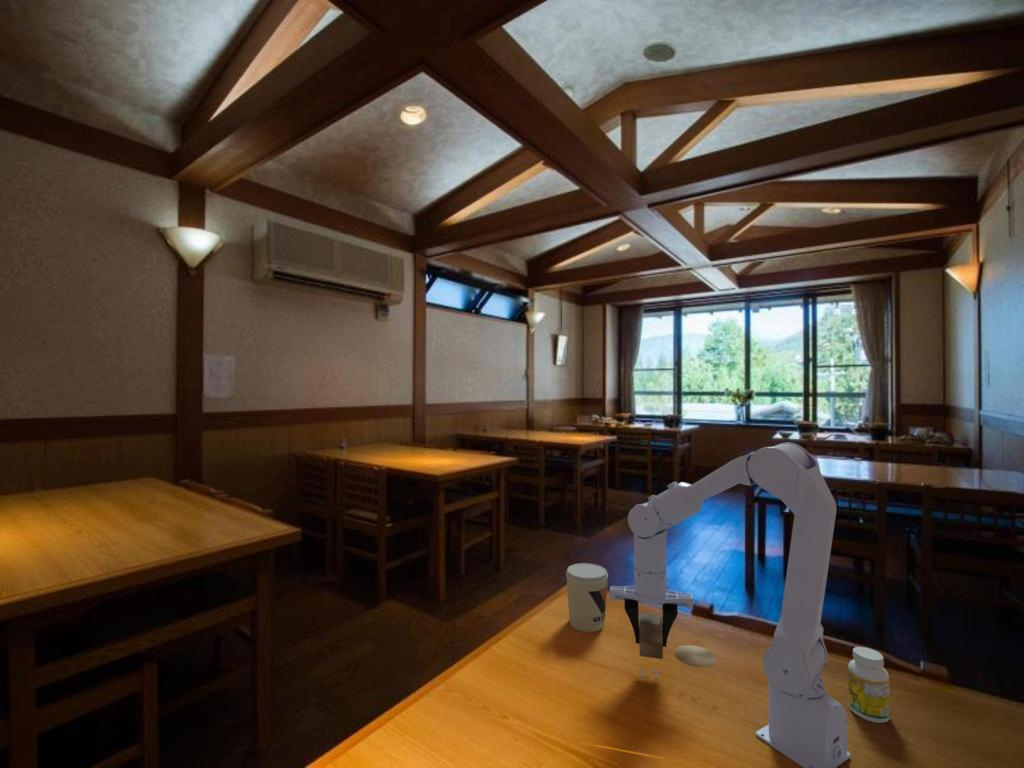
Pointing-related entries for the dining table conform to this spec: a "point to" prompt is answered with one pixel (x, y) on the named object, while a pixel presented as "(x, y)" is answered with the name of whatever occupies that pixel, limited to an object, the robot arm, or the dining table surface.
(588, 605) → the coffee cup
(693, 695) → the dining table surface
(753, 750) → the dining table surface
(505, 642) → the dining table surface
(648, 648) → the walnut block
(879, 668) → the supplement bottle
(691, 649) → the cork coaster
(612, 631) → the dining table surface
